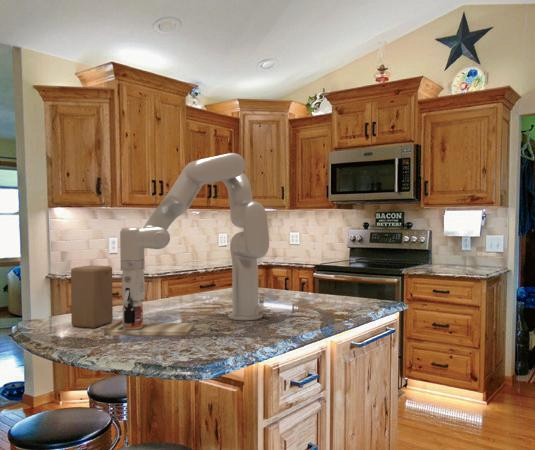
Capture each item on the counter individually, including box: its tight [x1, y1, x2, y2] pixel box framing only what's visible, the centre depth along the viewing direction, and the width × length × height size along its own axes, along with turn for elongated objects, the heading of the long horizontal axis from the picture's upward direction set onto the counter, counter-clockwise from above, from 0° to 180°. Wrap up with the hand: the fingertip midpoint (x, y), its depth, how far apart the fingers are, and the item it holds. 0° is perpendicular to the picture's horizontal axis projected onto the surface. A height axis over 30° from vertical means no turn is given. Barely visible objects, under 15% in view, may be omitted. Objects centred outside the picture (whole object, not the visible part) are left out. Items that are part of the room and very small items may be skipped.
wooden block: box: [70, 265, 114, 329], centre depth 157 cm, size 10×10×20 cm
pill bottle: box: [122, 299, 144, 330], centre depth 148 cm, size 6×6×11 cm
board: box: [103, 319, 196, 337], centre depth 148 cm, size 26×12×2 cm, turn 88°
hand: (133, 320), depth 148 cm, fingers closed on pill bottle, 6 cm apart
